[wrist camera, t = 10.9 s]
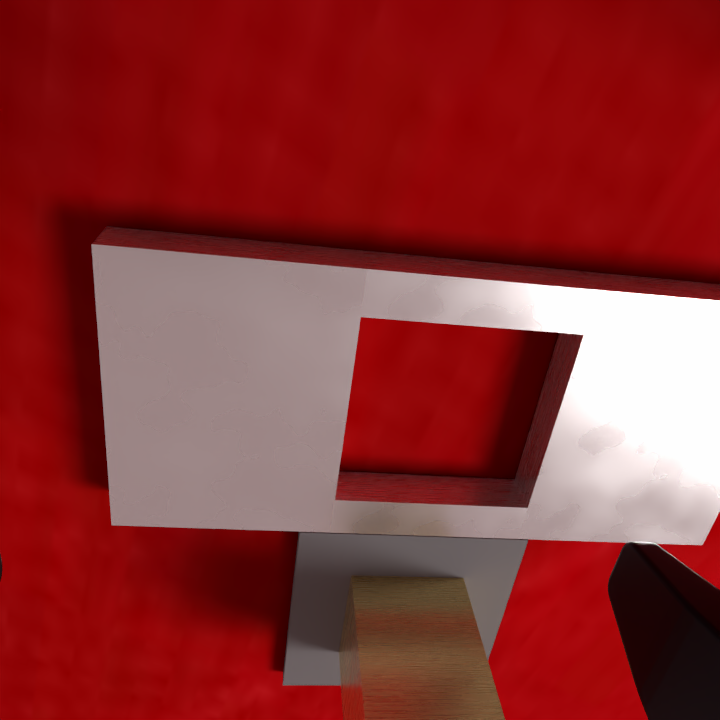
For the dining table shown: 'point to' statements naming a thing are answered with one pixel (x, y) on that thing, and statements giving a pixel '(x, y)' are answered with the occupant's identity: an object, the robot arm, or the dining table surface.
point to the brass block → (413, 652)
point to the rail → (333, 383)
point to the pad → (385, 558)
